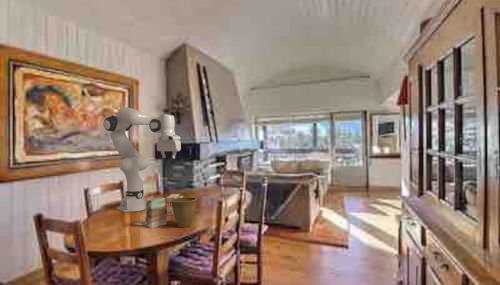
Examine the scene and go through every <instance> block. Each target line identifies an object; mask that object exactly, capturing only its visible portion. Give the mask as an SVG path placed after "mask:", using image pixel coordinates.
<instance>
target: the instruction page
mask: <svg viewBox="0 0 500 285" xmlns="http://www.w3.org/2000/svg"><path fill="white" fill-rule="evenodd" d="M133 225H136V226H144V225H145V220H142V221H138V222H133Z"/></svg>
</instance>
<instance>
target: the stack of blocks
mask: <svg viewBox="0 0 500 285" xmlns="http://www.w3.org/2000/svg"><path fill="white" fill-rule="evenodd" d="M182 197H184V195H181V194H180V193H172V194H170V195H169V196H167V197H165V206H166V214H167V216H174V212H173V208H172V202H171V200H172V199H175V198H182Z"/></svg>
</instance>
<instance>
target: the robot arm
mask: <svg viewBox="0 0 500 285" xmlns="http://www.w3.org/2000/svg"><path fill="white" fill-rule="evenodd" d="M175 120H176V119H175V116H174V115H173V114H172V113H168V112H163V113H161V114H160V115H159V116H158V117H155V116H153V115H149V114H146V113H144V112H142V111H140V110H138V109H135V108H131V107H125V106H122V107H121V108H119V109H118V111H117V114H116V115H111V116H108V117H106V118H105V119H104V120H103V127H104V129H105V130H106V131H108V132H110V133H109V136H110V139H111V142H112V143H113V144H112V145H114V148H115V149H116V151H117V152H118V154H119V155H120V156H121V157H123V159H122V160H120V162H119V169H120V171H121V172H123V175H124V176H125V180H126V191H125V196H124V197H123V198H122V199H121V200H120V202H119V203H120V204H119V206H117V207H116V209H117V210H119V211H120V212H123V213H127V212H141V211H143V210H146V198H145V196H144V193H145V190H144V180H143V178H142V177H141V176H140V174H139V172H141V171H143V170H145V169H147V168H148V166H149V160H148V158H147V157H145V156H143V155H142V154H141V153H140V152H139V151H138V150H137V149H136V148H135V147H134V146H133V144H132V142H131V140H130V139H129V137H128V136H127V134H126V132H128V131H130V129H131V128H133V126H149V130H150V132H152V133H156V134H157V133H161V137H159V138H158V139H157V143H156V150H157V152H160V153H161V156H162V157H161V158H162V159H166V158H167V157H166V156H167V155H166V154H165V152H172V155H171V159H176V155H177V152H180V151H181V150H182V144H181V136H180V135H177V134H176V131H175V128H176V123H175Z"/></svg>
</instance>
